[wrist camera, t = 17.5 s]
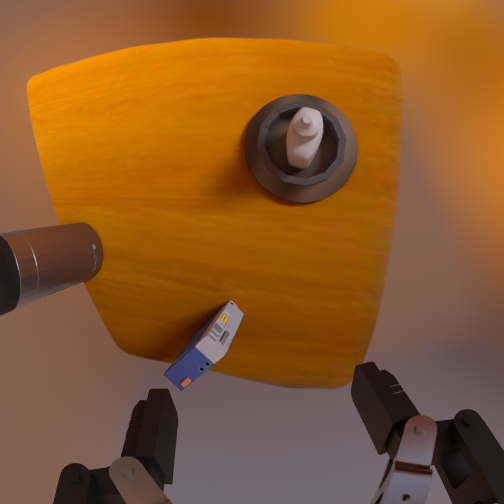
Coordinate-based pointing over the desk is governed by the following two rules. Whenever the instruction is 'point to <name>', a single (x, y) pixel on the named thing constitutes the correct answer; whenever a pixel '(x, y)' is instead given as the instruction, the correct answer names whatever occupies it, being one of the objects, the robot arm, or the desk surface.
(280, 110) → the bottle collar
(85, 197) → the desk surface
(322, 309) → the desk surface
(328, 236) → the desk surface
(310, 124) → the eye dropper bottle
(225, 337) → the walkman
